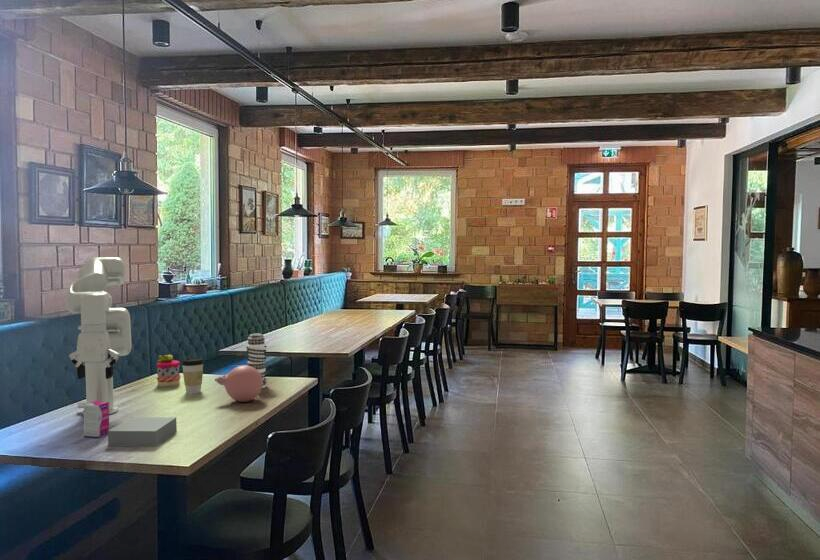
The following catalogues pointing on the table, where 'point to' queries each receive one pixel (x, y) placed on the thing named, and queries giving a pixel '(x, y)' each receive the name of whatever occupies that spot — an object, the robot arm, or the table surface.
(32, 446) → the table surface
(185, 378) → the coffee cup
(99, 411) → the supplement box
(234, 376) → the balloon
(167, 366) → the cake
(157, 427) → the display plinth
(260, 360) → the striped thermos bottle
